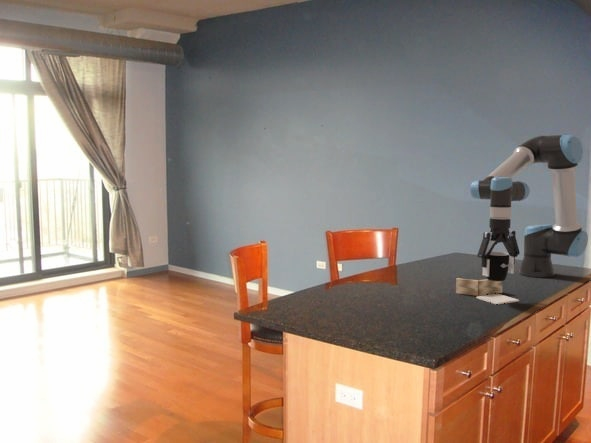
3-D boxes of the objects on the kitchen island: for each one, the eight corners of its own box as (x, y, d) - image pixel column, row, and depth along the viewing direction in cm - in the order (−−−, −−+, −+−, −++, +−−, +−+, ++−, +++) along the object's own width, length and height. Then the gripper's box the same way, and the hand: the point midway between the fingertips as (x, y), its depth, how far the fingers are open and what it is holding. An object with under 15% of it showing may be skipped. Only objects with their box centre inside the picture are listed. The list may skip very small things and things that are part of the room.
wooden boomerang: (488, 288, 240) (488, 274, 239) (502, 292, 233) (502, 278, 232) (454, 292, 233) (455, 278, 232) (468, 297, 226) (468, 282, 225)
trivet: (497, 295, 229) (498, 293, 229) (518, 301, 219) (519, 299, 219) (476, 298, 224) (476, 296, 224) (496, 304, 214) (496, 303, 214)
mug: (500, 283, 213) (501, 256, 212) (479, 279, 220) (480, 253, 219) (516, 278, 221) (517, 252, 220) (495, 275, 228) (496, 249, 227)
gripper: (516, 215, 226) (514, 270, 228) (468, 218, 216) (466, 275, 219) (531, 217, 219) (528, 273, 222) (482, 220, 210) (480, 279, 212)
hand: (498, 274), depth 220 cm, fingers closed on mug, 11 cm apart
